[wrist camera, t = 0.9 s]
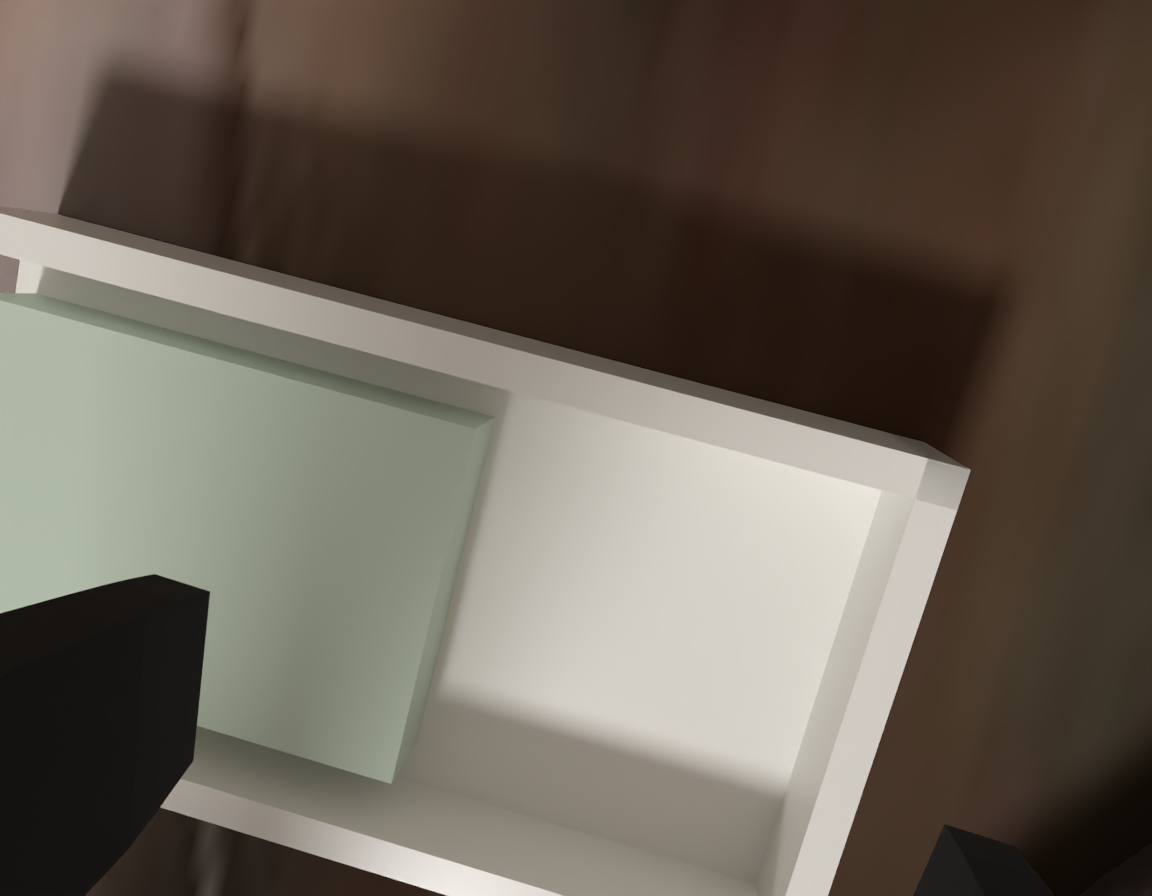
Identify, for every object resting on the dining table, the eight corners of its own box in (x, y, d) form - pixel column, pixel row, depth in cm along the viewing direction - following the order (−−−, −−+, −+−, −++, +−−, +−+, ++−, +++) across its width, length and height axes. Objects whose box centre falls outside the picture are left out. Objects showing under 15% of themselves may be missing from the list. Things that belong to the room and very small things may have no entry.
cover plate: (416, 741, 22) (390, 784, 20) (-12, 614, 23) (-76, 643, 21) (494, 417, 21) (475, 429, 19) (36, 293, 22) (-28, 292, 20)
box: (776, 897, 23) (791, 1001, 20) (-12, 661, 24) (-124, 720, 21) (924, 442, 21) (970, 469, 18) (55, 213, 22) (-57, 197, 19)
